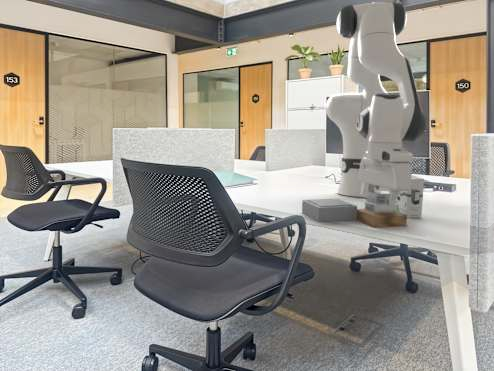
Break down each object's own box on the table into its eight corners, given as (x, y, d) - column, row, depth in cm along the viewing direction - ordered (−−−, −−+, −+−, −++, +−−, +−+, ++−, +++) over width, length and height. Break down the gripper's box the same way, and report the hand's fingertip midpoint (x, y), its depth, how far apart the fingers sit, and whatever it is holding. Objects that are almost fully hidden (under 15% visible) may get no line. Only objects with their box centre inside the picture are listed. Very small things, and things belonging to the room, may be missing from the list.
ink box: (393, 211, 130) (396, 174, 128) (408, 211, 131) (411, 174, 129) (405, 218, 122) (408, 178, 120) (422, 218, 122) (425, 178, 120)
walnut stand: (385, 217, 122) (385, 207, 122) (406, 225, 112) (407, 214, 112) (354, 218, 119) (355, 208, 119) (373, 227, 110) (374, 216, 109)
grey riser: (337, 211, 130) (338, 197, 129) (356, 219, 119) (357, 205, 118) (301, 212, 127) (302, 199, 126) (318, 221, 116) (318, 206, 115)
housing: (386, 209, 119) (387, 190, 118) (396, 213, 114) (397, 193, 113) (364, 210, 117) (365, 191, 116) (374, 214, 112) (375, 194, 112)
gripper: (354, 150, 122) (352, 196, 124) (395, 155, 103) (392, 210, 105) (373, 150, 124) (371, 196, 126) (417, 155, 104) (413, 209, 106)
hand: (381, 202), depth 115 cm, fingers open, 8 cm apart
